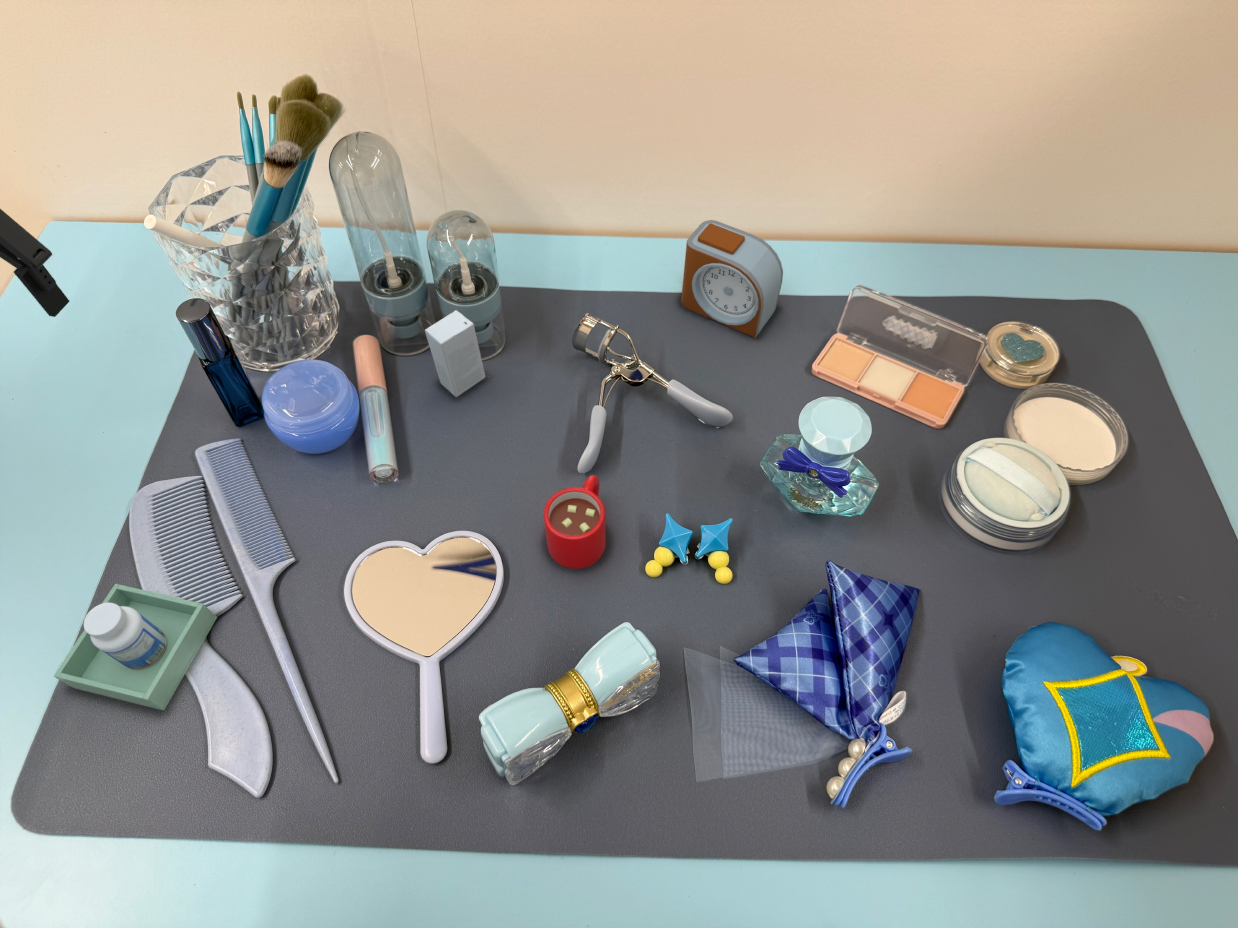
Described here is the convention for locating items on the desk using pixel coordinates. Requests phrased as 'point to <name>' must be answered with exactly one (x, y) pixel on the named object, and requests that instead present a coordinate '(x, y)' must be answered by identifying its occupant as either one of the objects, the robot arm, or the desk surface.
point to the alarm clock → (731, 277)
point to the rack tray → (156, 682)
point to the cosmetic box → (455, 353)
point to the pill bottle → (125, 635)
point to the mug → (576, 525)
